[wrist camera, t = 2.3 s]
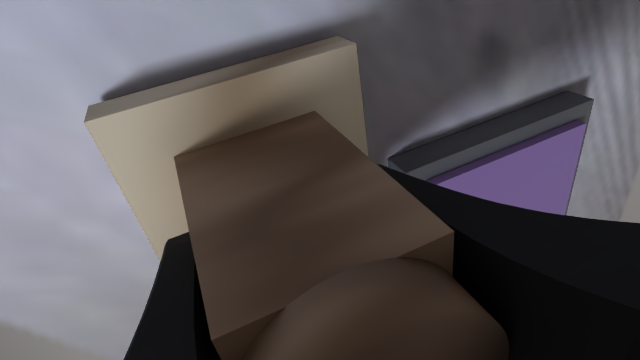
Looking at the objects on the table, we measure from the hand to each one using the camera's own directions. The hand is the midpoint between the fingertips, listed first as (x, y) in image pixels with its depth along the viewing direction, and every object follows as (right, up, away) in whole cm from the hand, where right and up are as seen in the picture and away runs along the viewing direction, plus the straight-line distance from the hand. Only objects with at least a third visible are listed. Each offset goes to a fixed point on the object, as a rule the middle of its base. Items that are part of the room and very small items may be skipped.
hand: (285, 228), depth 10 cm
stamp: (-1, +2, +3) cm, 3 cm away
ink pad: (+8, 0, +8) cm, 12 cm away
